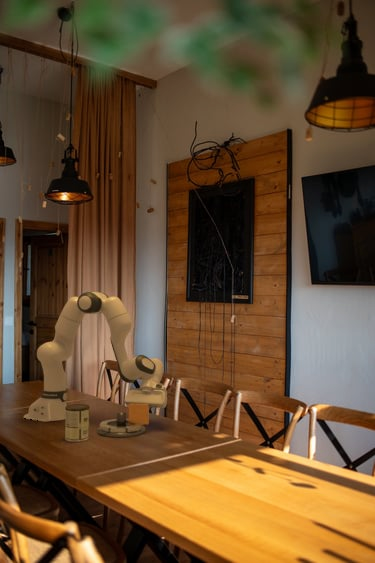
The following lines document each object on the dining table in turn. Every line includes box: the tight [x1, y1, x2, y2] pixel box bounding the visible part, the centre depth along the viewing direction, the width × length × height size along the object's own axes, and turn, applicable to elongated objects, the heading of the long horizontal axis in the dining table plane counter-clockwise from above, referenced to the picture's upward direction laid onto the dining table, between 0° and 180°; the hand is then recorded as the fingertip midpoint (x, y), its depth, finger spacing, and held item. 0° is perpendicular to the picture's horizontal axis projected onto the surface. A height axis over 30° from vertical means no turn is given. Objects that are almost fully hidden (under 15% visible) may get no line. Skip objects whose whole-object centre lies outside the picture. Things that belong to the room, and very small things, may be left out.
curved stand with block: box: [98, 403, 150, 433], centre depth 248 cm, size 22×19×11 cm
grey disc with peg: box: [96, 411, 146, 439], centre depth 248 cm, size 22×22×8 cm
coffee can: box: [64, 403, 90, 443], centre depth 235 cm, size 10×10×14 cm
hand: (141, 413), depth 250 cm, fingers closed
